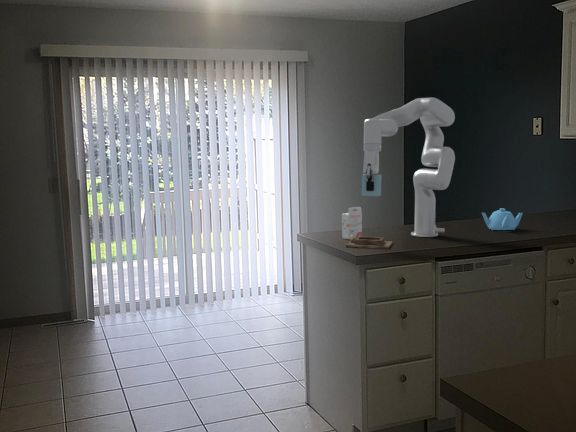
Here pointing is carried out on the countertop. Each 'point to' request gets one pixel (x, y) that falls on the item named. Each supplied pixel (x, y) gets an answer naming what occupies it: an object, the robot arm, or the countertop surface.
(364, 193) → the key block
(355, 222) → the ink cartridge box
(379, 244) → the cradle
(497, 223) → the teapot
